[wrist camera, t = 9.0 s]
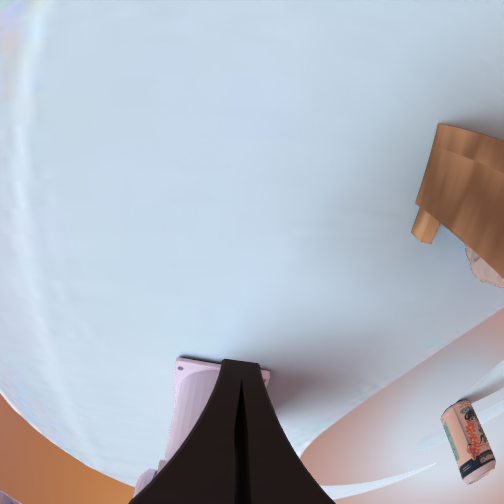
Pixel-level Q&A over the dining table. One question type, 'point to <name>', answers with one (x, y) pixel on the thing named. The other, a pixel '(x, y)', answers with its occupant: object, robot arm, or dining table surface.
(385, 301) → the dining table surface
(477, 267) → the pink clay lump
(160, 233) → the dining table surface
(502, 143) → the upright wooden block
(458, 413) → the beer can
